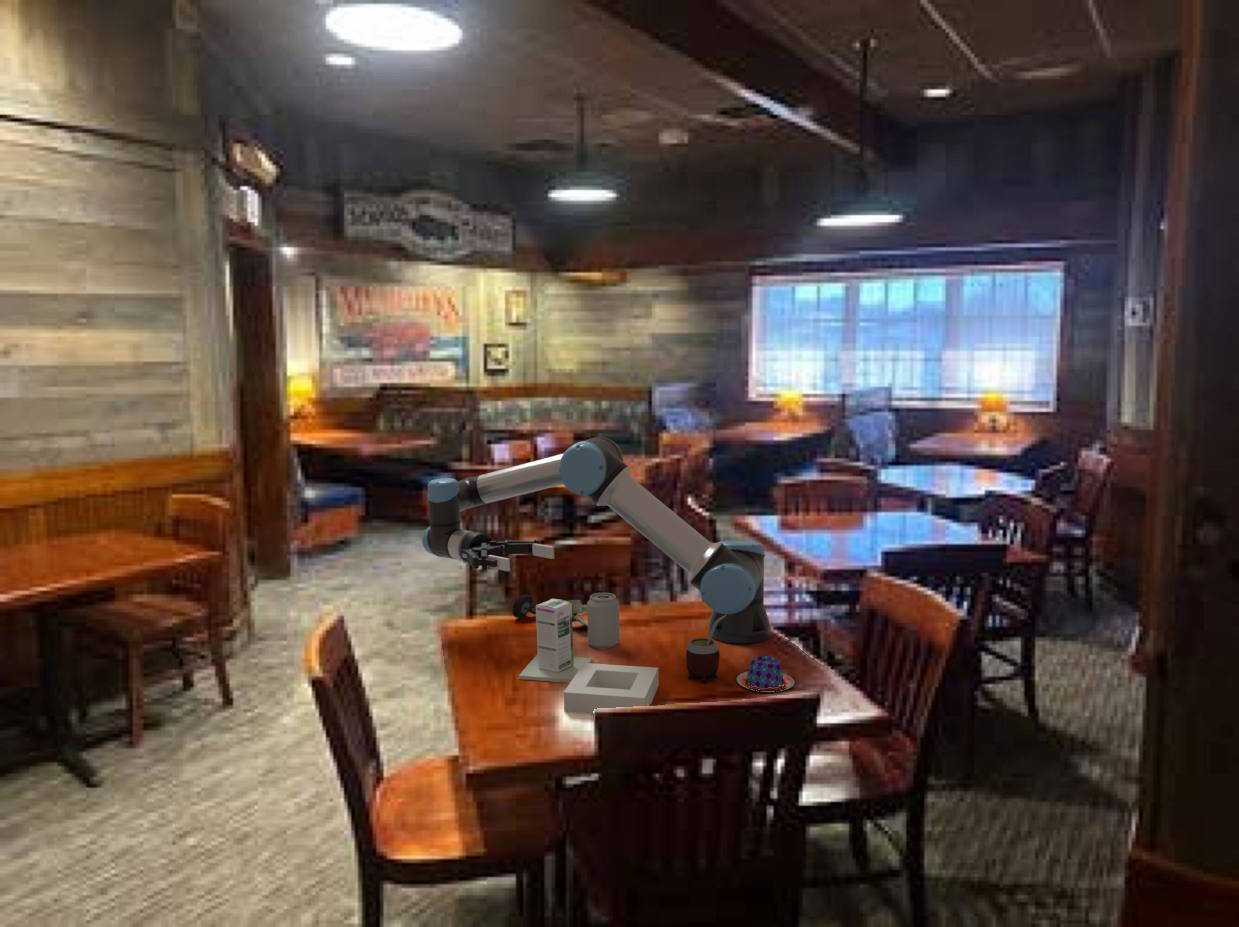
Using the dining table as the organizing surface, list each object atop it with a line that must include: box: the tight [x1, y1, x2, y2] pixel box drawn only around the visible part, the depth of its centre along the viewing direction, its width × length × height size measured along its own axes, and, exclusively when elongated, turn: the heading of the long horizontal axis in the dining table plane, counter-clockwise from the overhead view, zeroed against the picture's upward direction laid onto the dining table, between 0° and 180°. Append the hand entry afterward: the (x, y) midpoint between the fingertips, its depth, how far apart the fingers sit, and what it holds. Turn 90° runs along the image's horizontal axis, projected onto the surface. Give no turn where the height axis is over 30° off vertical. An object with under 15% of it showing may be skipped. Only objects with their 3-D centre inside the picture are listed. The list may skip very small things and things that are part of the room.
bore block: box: [563, 662, 659, 715], centre depth 181 cm, size 16×16×4 cm
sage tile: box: [518, 654, 593, 684], centre depth 197 cm, size 13×13×1 cm
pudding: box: [736, 655, 795, 693], centre depth 188 cm, size 12×12×5 cm
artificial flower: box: [512, 593, 588, 628], centre depth 228 cm, size 9×22×10 cm, turn 54°
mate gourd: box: [685, 615, 727, 685], centre depth 190 cm, size 8×8×15 cm
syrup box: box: [535, 598, 575, 673], centre depth 196 cm, size 6×6×14 cm
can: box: [586, 592, 620, 649], centre depth 212 cm, size 8×8×12 cm
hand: (531, 558), depth 202 cm, fingers open, 13 cm apart
